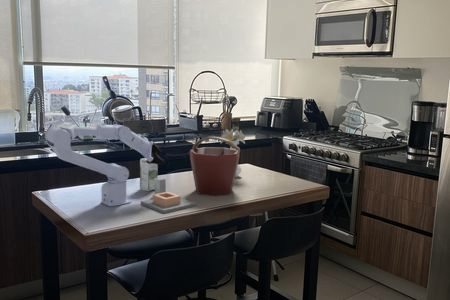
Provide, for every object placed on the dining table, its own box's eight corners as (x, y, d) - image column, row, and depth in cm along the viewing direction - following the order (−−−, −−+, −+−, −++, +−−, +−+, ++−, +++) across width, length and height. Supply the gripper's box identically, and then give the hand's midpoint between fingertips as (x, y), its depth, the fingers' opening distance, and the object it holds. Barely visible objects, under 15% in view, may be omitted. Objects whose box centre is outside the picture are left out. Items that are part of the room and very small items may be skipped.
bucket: (249, 193, 204) (251, 138, 200) (212, 201, 189) (213, 142, 185) (214, 183, 222) (215, 132, 218) (178, 189, 207) (178, 135, 203)
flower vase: (242, 172, 247) (243, 127, 243) (245, 180, 229) (247, 131, 225) (218, 172, 247) (219, 126, 243) (220, 179, 229) (221, 130, 225)
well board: (164, 213, 171) (164, 202, 170) (140, 204, 182) (140, 194, 182) (196, 205, 182) (196, 195, 181) (172, 197, 193) (172, 188, 193)
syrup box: (149, 187, 210) (149, 156, 208) (158, 189, 207) (157, 158, 204) (139, 189, 206) (139, 158, 204) (148, 191, 202) (148, 160, 200)
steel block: (159, 198, 192) (159, 179, 191) (154, 196, 195) (154, 178, 194) (165, 196, 194) (165, 178, 193) (160, 194, 197) (160, 177, 196)
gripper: (147, 147, 180) (171, 162, 188) (141, 127, 191) (164, 142, 199) (135, 158, 182) (159, 173, 190) (130, 138, 192) (153, 152, 201)
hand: (161, 158), depth 195 cm, fingers open, 7 cm apart
